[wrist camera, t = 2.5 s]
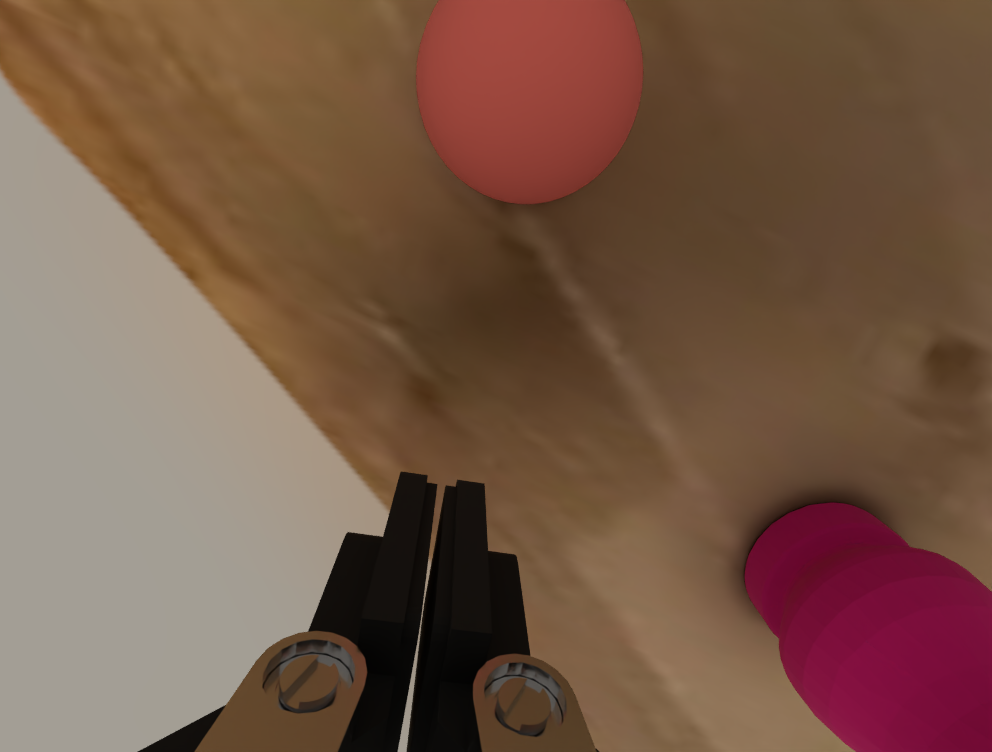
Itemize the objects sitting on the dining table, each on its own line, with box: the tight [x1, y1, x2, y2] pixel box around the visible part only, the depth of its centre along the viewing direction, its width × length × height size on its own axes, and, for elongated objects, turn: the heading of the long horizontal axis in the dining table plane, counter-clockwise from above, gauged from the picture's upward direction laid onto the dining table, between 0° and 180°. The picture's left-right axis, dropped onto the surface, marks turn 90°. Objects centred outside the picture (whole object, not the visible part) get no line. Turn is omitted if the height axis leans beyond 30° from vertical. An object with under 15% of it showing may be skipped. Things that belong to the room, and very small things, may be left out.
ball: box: [416, 0, 643, 204], centre depth 14 cm, size 6×6×6 cm
